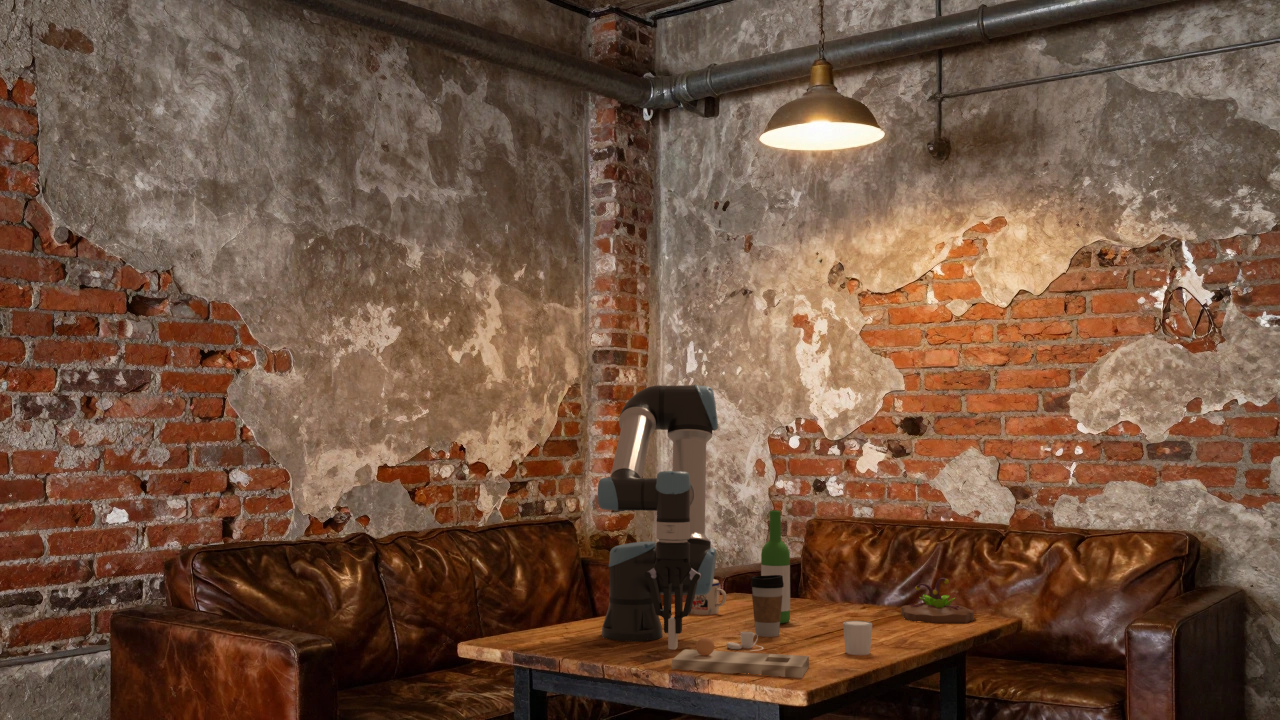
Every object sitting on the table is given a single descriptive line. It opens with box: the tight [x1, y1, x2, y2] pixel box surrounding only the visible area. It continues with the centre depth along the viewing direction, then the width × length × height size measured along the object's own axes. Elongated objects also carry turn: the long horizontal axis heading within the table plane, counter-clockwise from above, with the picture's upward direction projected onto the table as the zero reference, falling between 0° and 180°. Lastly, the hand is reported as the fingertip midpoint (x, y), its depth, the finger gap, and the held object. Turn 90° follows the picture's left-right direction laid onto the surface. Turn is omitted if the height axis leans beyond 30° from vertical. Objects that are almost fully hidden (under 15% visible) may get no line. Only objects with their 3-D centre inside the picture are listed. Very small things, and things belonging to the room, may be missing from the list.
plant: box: [900, 577, 975, 624], centre depth 324 cm, size 20×20×11 cm
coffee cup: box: [750, 575, 784, 638], centre depth 294 cm, size 8×8×15 cm
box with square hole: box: [671, 648, 810, 679], centre depth 252 cm, size 28×12×2 cm, turn 75°
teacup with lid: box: [690, 578, 727, 616], centre depth 328 cm, size 12×9×12 cm
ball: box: [695, 636, 715, 656], centre depth 254 cm, size 4×4×4 cm
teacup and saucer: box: [726, 631, 765, 652], centre depth 276 cm, size 9×8×4 cm
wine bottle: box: [760, 509, 791, 624], centre depth 315 cm, size 8×8×30 cm
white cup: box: [842, 620, 873, 656], centre depth 271 cm, size 7×7×7 cm
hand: (673, 648), depth 256 cm, fingers closed
